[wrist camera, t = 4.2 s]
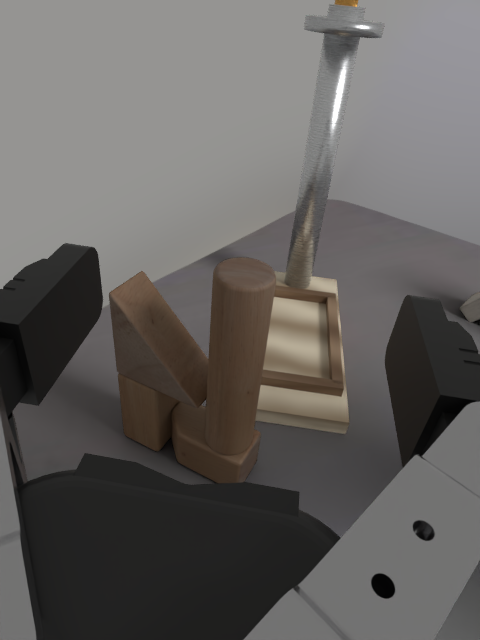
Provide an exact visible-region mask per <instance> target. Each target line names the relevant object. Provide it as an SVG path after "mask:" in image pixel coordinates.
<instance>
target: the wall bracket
mask: <svg viewBox="0 0 480 640" xmlns="http://www.w3.org/2000/svg"><path fill="white" fill-rule="evenodd" d="M459 309H460V310H461V312H462V313H463V314H464V316H465V317H466V319H467V320H468V321H469V322H471V323H472V322H474V321H476V320H478V319H480V292H478V293H476V294H474V295H472V296H471V297H470V298H469V299H468V300H467V301H466V302H465V303H464V304H463V305H462V306H461V307H460V308H459Z"/></svg>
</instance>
